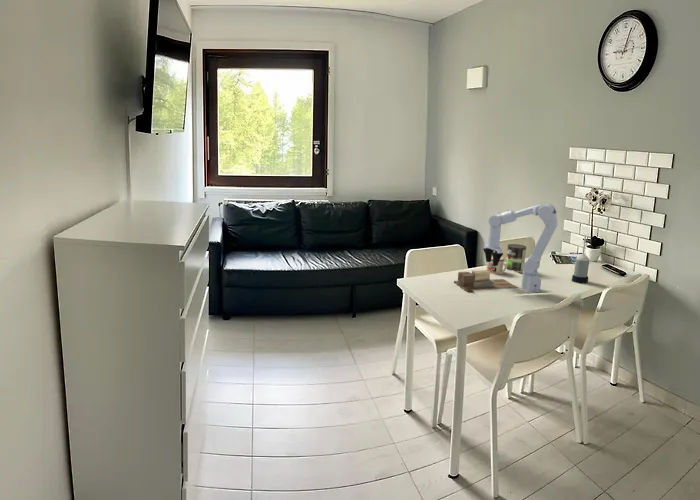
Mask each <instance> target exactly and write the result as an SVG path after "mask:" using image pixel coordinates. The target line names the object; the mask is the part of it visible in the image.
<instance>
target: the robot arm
mask: <svg viewBox="0 0 700 500" xmlns="http://www.w3.org/2000/svg"><path fill="white" fill-rule="evenodd" d="M557 213H558V211H557V210H556V208H555V206H554V205H553V204H551V203H544V204H537V205H533V206H530V207H526V208H523V209H520V210H518V211H515V210H513V209H507V210H506V211H504V212H498V213H497V214H493V215H492V216H490V217H489V219H488V224H489V229H488V241H487V243H485V244H484V248H483V249H482V250H483V252H484V255H485V261H486V263H487V262H491V258H492V256H493V266H498V263H499V260H500V258H501V257H503V255H504V253H503V249H502V248H501V247H500V242H501V233H502V232H501V231H502V225H507V224H509V223H513V222H516V221H517V219H518V218H521V217H525V216H530V215H533V216H538V217H539V218H540V219H541V220H542V222H543V224H544V226H545V227H544V229H543V230H542V233H540V236H539V238H538V240H537V242H536V244H535V246H534V248H533V250H532V252H531V254H530V256H529V257H528V258H527V260H526V261H525V262H524V264H523V267H522V268H523V272H522V278H521V287H520V288H521V289H523V290H525V291H527V292H528V293H535V294H537V293H538V294H540V293H541V294H542V292H540V291H541V285H542V279H541V278H540V276H539V271H538V270H539V268H540V263H541V261H542V256H543V254H544V252H545V251H546V249H547V246H548V245H549V242H550V241H551V239H552V238H553V235H554V233H555V231H556V229H557V227H558V218H557Z"/></svg>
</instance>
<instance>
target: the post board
mask: <svg viewBox="0 0 700 500" xmlns="http://www.w3.org/2000/svg"><path fill="white" fill-rule="evenodd" d="M471 273H472V272H470V271H458V274H457V280H453V284H455V283H456V284H457V285H456V284H455V285H456V286H458V287H459V286H460V287H459V288H461V289H462V290H463V289H464V290H463V291H465V293H474V292H475V291H477V290H483V291H484V290H500V289H501V290H502V289H503V290H504V289H508V290H509V289H519V287H518V286H516V285H514V284H513V283H511V282H509V281H508V280H505V279H504V278H499V279H498V278H497V279H494V278H493V279H489V281H483V282H474V275H473V274H471ZM474 290H475V291H474Z"/></svg>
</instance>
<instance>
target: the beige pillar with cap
mask: <svg viewBox="0 0 700 500" xmlns="http://www.w3.org/2000/svg"><path fill="white" fill-rule="evenodd" d="M470 273H471V274H473V275H474V282H483V281H489V279H490V278H491V276H490V275H491V273H490V272H489V271H487V269H482V270H481V269H479V270H478V269H477V270H476V269H475V270H471V272H470Z"/></svg>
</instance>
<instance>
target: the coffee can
mask: <svg viewBox="0 0 700 500" xmlns="http://www.w3.org/2000/svg"><path fill="white" fill-rule="evenodd" d="M506 250H507V252H506V260H505V261H506V262H505V264H506V266H507V268H506V269H507V270H509V271H513V272H515V273H523V268H522V267H523V264H524V263H525V262H526V252H527V251H526V250H527V246H526V245H523V244H517V243H516V244H514V243H510V244H507V249H506ZM507 270H506V271H507Z"/></svg>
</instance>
